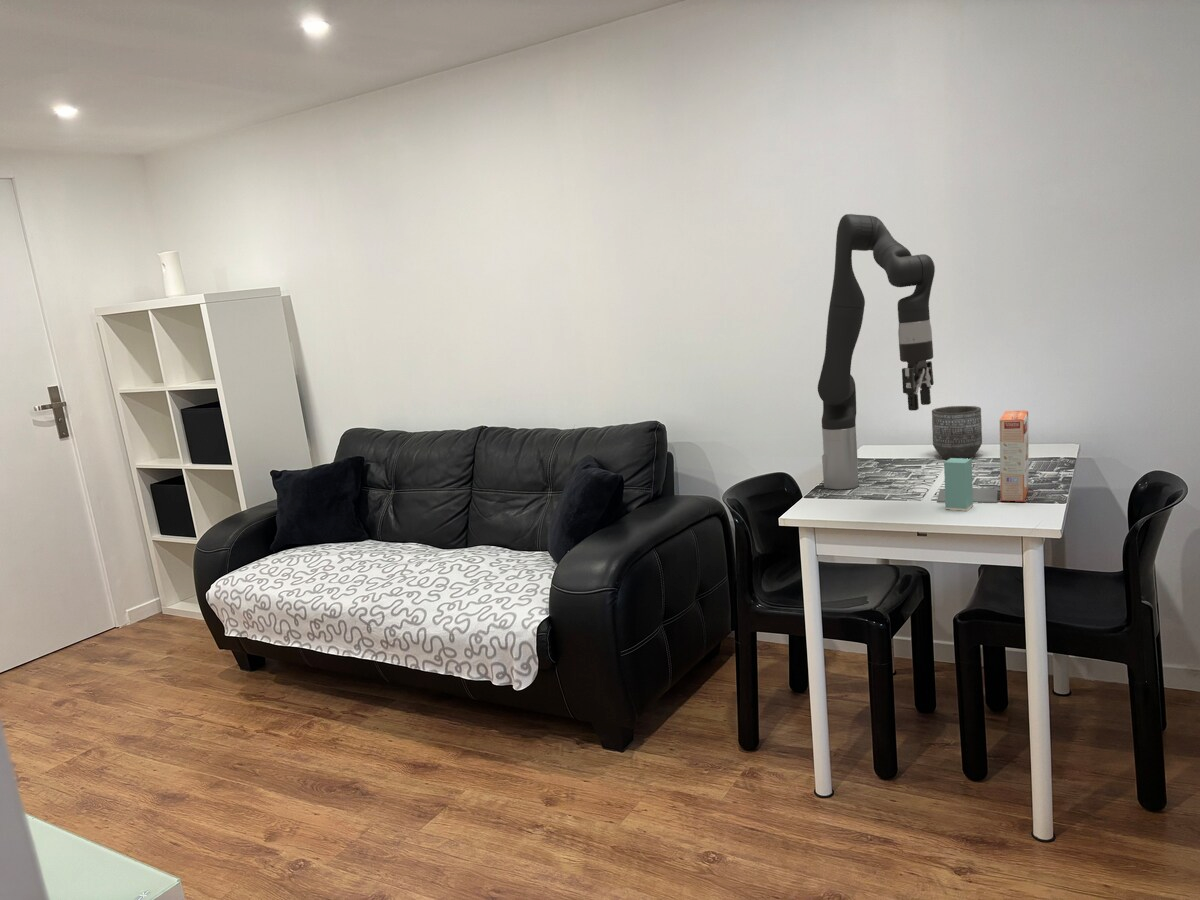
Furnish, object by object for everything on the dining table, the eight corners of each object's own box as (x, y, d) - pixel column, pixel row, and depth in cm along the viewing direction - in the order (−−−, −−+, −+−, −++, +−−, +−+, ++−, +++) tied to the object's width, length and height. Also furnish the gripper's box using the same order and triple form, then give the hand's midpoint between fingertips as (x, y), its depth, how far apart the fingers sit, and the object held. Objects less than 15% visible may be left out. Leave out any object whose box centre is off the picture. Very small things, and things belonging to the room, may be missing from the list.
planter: (924, 459, 272) (923, 412, 269) (946, 450, 281) (944, 405, 278) (969, 462, 261) (968, 413, 259) (990, 453, 270) (989, 406, 268)
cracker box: (1026, 502, 213) (1025, 418, 209) (999, 502, 216) (997, 419, 212) (1030, 489, 225) (1029, 409, 221) (1004, 488, 228) (1003, 410, 224)
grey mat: (936, 502, 221) (936, 501, 221) (940, 490, 233) (940, 488, 233) (997, 503, 215) (997, 501, 215) (997, 490, 227) (997, 488, 227)
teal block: (945, 509, 214) (944, 462, 212) (952, 504, 218) (950, 458, 216) (966, 511, 211) (965, 463, 209) (973, 506, 215) (971, 458, 213)
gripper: (920, 342, 200) (925, 412, 203) (941, 336, 211) (945, 402, 213) (888, 344, 205) (893, 412, 207) (910, 338, 216) (914, 403, 218)
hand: (919, 407), depth 210 cm, fingers open, 8 cm apart
